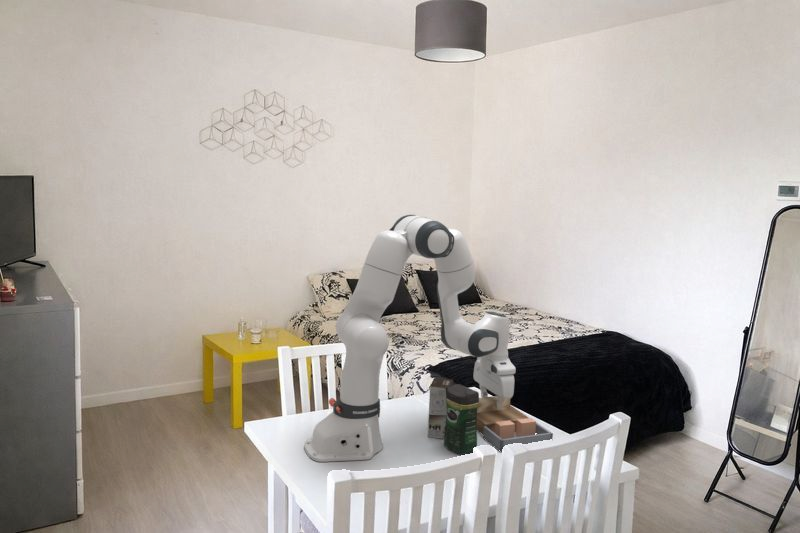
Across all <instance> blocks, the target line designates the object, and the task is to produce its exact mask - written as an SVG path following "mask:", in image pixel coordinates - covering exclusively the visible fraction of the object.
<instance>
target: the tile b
mask: <svg viewBox="0 0 800 533" xmlns="http://www.w3.org/2000/svg"><path fill="white" fill-rule="evenodd" d="M536 423H537V420H535V419H533V418H532V417H529V418H526V419H518V420H517V423H516V436H518V437H522V436H529V435H535V431H536Z"/></svg>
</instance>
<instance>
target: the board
mask: <svg viewBox="0 0 800 533" xmlns="http://www.w3.org/2000/svg"><path fill="white" fill-rule="evenodd" d="M526 418H530V417H529V416H528V415H526V414H525V413H523V412H522V411H520V410H518V409H517V408H515V407H514V406H512V404H510V409H505V410H497V411H489V412H480V413H477V431H478V432H477V433H480V434H481V435H482V436H483V429H484V426H486V427H488V428H489V429H490V430H491V431H493V432H494V433H495V422H500V421H508V420H510V421H511V422H513V423H514V424H515V432H516V423H517V420H518V419H526Z"/></svg>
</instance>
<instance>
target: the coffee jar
mask: <svg viewBox="0 0 800 533" xmlns="http://www.w3.org/2000/svg"><path fill="white" fill-rule="evenodd" d="M479 398H480V393H479V391H477V390H475V389H472V388H469V387H467V386H464V385H462V384H460V383H457V384H453V385H451V386H449V387H448V389H447V393H446V403H447V416H446V427H445V435H444V439H443V445H444V447H446V449H448V450H449V451H451V452H454V453H456V454H458V455H468V453H470V454H472V453H473V448H474V447H476V446H477V447H478V435H477V434H478V432H477V408H478V405H479Z"/></svg>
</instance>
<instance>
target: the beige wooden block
mask: <svg viewBox="0 0 800 533" xmlns="http://www.w3.org/2000/svg"><path fill="white" fill-rule="evenodd" d="M497 400H498V398H497V395H495V396H488V397H483V398H482V397H479V405H478V408H477V413H480V412H489V411H497V410H505V409H510V405H511V398H510V399H505V400H504V402H503V404H502V408H501V409H498V408H496V407H495V402H497Z"/></svg>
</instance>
